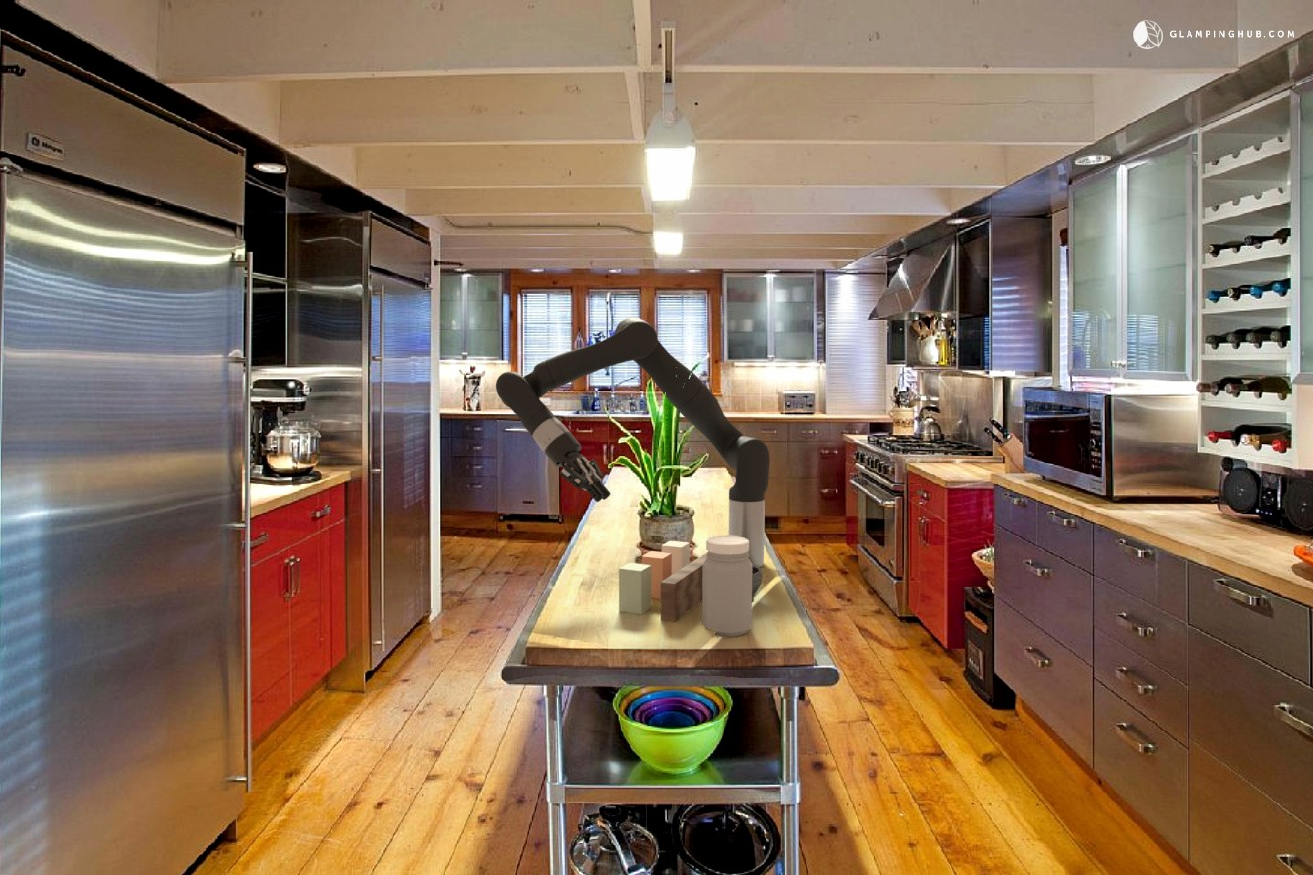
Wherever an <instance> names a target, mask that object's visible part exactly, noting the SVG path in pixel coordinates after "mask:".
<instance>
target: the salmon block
mask: <svg viewBox="0 0 1313 875" xmlns="http://www.w3.org/2000/svg"><path fill="white" fill-rule="evenodd" d="M641 564H645V565H651V599H657V600H658V599H659V600H661V582H662V581H664V580H665V579H667V578H668V577H670V576H671V575H672V553H664V552H662V551H654V550H651V551H648V552H646V553H644V554H643V555H642V556H641Z"/></svg>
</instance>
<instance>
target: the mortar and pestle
mask: <svg viewBox="0 0 1313 875" xmlns="http://www.w3.org/2000/svg"><path fill="white" fill-rule="evenodd" d="M748 559H749V560H750V556H749V557H748ZM762 582H763V570H762V567H755V566H752V603H754V602H755V598H754V594H755V593H756V592H758V591H759V589H760V587H761V585H762Z"/></svg>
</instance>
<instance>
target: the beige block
mask: <svg viewBox="0 0 1313 875" xmlns="http://www.w3.org/2000/svg"><path fill="white" fill-rule="evenodd" d="M661 552H664V553H672V575H673V574H674V573H676V572H677V571H679V570H680V569H682V568H683V567H685V566H687V565H688V564H690V563H691V559H690V558H691V557H690V556H691V542H688V541H675V540H669V541H667V542H666V543H663V544H661Z"/></svg>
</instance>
